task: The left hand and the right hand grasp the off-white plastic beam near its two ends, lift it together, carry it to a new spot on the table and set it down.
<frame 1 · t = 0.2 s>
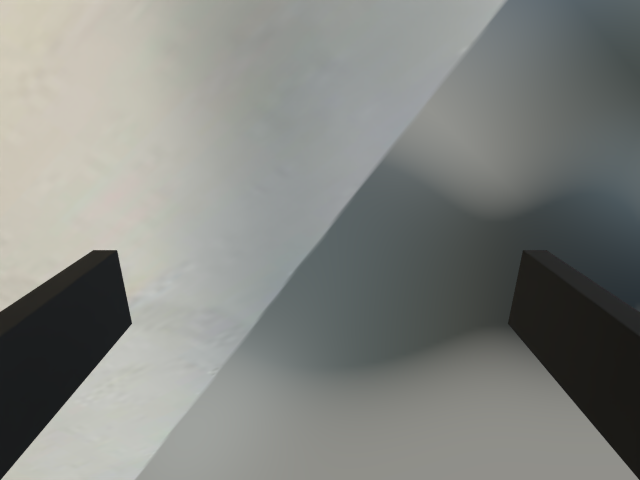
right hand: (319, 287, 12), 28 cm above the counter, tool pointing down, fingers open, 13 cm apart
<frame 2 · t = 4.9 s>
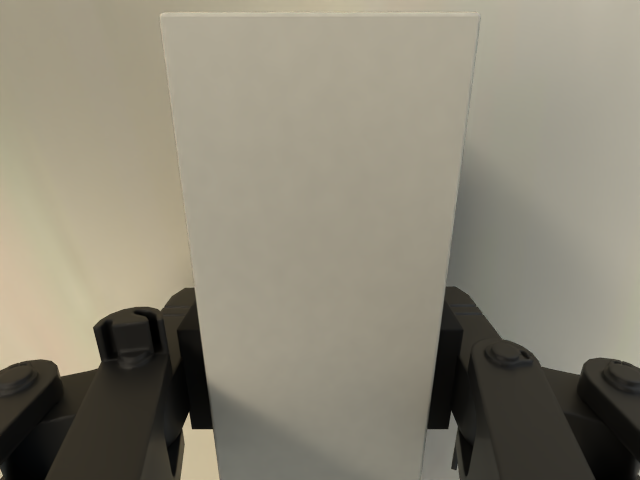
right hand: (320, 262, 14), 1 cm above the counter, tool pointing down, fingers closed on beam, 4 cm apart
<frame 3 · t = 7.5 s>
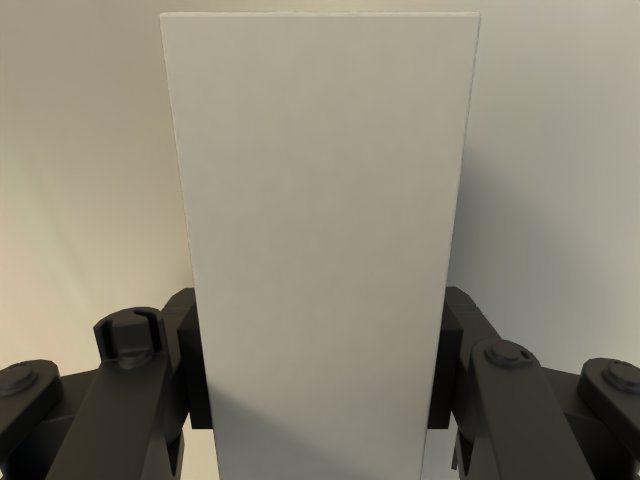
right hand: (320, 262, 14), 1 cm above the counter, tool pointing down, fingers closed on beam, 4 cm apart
when the left hand's fingers open (2 cm above the counter, at t = 10.8 s): beam stays where it is, on the counter.
when the right hand's fingers open (2 cm above the counter, at t = 10.9 s): beam stays where it is, on the counter.
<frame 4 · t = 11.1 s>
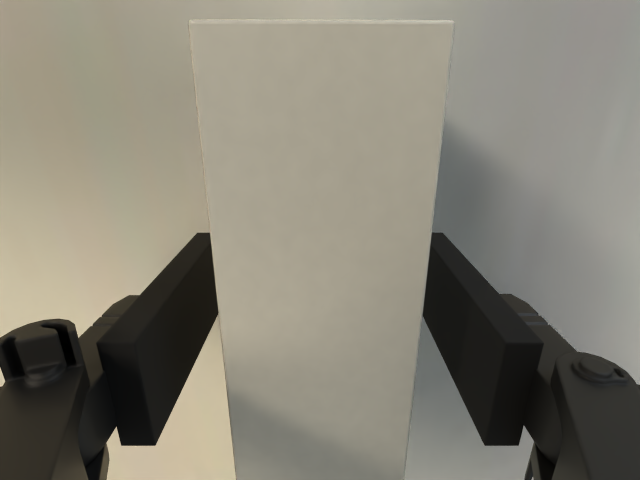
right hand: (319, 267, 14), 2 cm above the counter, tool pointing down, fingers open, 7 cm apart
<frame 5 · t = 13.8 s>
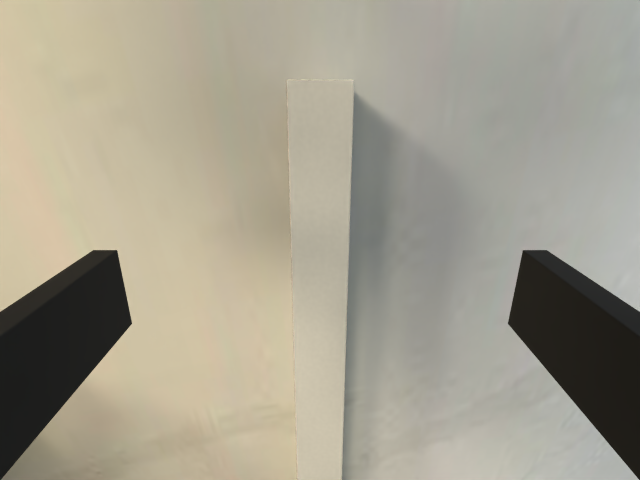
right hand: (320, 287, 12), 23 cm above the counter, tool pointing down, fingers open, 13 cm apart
beam: (319, 382, 43), on the counter
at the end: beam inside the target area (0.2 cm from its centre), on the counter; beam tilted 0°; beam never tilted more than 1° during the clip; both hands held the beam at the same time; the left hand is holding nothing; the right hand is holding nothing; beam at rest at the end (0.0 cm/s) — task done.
